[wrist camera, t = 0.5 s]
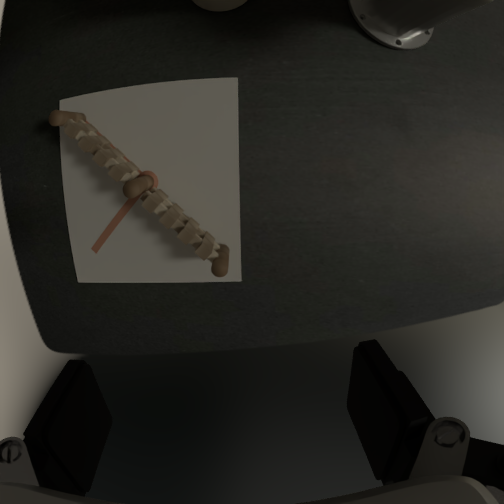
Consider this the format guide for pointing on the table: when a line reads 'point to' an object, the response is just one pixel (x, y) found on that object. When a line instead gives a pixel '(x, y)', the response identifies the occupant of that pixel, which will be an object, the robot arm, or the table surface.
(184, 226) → the fence gate
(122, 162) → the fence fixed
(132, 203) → the card
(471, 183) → the table surface
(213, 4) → the travel mug
